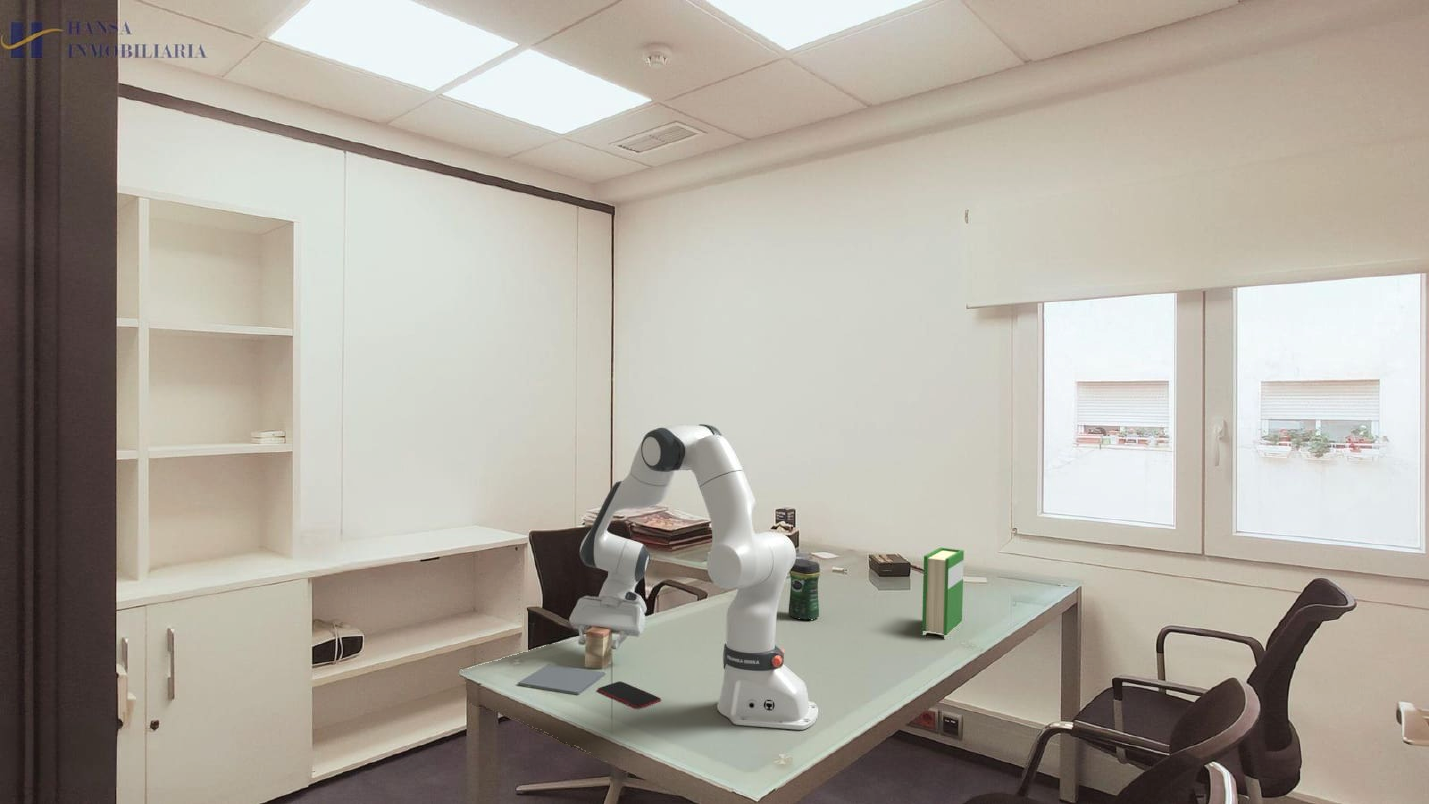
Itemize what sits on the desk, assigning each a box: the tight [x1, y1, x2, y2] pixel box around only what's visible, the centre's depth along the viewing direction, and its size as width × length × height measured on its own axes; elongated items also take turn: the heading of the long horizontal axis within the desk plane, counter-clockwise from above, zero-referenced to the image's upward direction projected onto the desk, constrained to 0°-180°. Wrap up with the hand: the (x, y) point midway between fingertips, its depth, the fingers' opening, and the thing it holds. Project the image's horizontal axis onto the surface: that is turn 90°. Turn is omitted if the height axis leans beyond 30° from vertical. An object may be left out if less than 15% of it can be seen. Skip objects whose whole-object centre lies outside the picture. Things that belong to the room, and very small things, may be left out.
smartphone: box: [597, 681, 662, 710], centre depth 175 cm, size 7×1×15 cm
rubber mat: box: [517, 663, 606, 696], centre depth 184 cm, size 16×14×1 cm
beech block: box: [584, 627, 613, 670], centre depth 195 cm, size 5×5×9 cm
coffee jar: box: [787, 558, 821, 620], centre depth 244 cm, size 10×8×19 cm
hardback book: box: [921, 547, 965, 635], centre depth 234 cm, size 18×7×24 cm, turn 148°
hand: (597, 646), depth 194 cm, fingers open, 8 cm apart
